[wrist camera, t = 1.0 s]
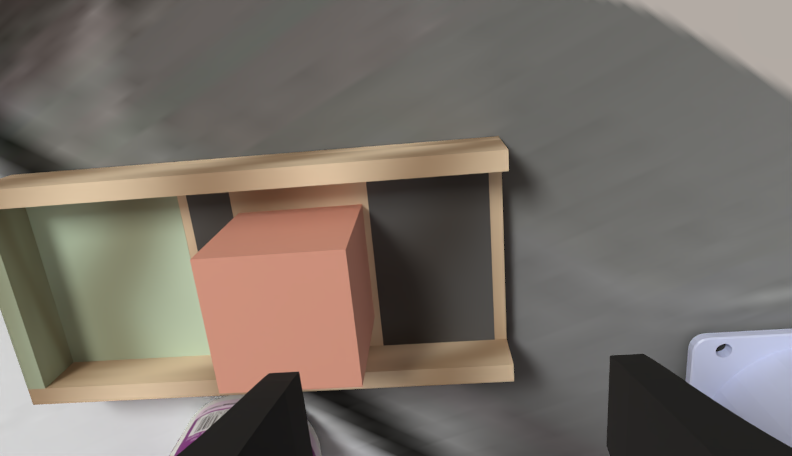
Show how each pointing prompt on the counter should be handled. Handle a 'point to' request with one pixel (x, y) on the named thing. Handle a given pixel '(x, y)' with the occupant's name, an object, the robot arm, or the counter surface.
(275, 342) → the red block
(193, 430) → the pill bottle
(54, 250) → the box
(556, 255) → the counter surface
